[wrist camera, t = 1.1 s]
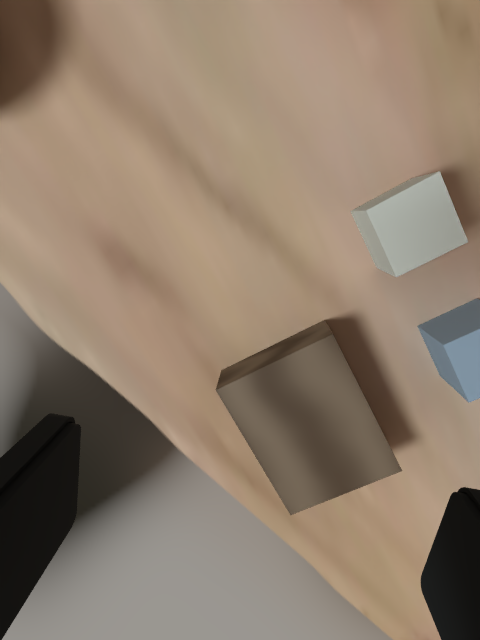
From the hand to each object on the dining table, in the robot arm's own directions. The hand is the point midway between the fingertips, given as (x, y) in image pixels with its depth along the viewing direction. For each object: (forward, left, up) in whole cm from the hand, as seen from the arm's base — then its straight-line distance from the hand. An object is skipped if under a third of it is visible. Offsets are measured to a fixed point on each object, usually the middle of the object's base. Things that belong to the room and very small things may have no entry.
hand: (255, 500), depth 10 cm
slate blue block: (-13, +11, -24) cm, 29 cm away
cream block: (-12, -1, -24) cm, 27 cm away
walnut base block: (+1, +10, -24) cm, 26 cm away
